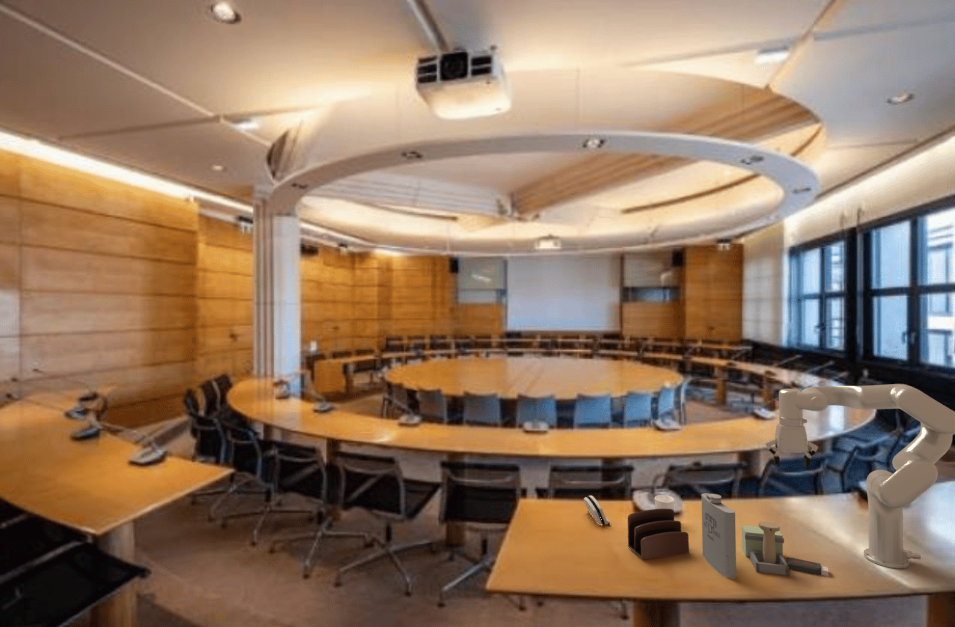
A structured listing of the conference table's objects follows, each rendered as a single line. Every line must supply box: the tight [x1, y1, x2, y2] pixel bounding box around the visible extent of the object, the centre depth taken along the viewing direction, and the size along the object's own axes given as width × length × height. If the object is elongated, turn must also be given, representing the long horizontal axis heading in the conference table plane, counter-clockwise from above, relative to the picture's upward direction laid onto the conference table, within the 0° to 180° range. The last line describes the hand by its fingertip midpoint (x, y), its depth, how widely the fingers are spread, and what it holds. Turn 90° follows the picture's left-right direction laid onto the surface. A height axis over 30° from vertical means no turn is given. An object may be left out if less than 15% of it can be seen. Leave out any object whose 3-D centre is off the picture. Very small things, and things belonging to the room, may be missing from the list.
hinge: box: [583, 495, 611, 525], centre depth 216 cm, size 17×5×10 cm, turn 6°
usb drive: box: [786, 556, 829, 577], centre depth 171 cm, size 5×12×3 cm, turn 58°
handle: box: [758, 520, 781, 564], centre depth 173 cm, size 5×6×15 cm
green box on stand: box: [741, 524, 790, 576], centre depth 177 cm, size 12×16×9 cm
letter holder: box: [627, 508, 690, 560], centre depth 187 cm, size 10×20×14 cm, turn 102°
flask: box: [700, 492, 737, 580], centre depth 175 cm, size 17×5×25 cm, turn 4°
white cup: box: [654, 494, 675, 511], centre depth 211 cm, size 8×8×10 cm
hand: (791, 466), depth 188 cm, fingers open, 9 cm apart
